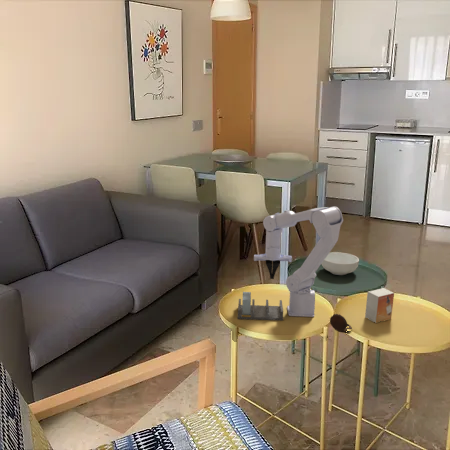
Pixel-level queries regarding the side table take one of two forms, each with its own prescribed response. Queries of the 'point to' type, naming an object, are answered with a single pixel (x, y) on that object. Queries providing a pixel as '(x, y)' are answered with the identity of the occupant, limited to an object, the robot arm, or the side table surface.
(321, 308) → the side table surface
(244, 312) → the light grey rectangular block
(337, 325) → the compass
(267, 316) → the rack
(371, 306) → the small box
